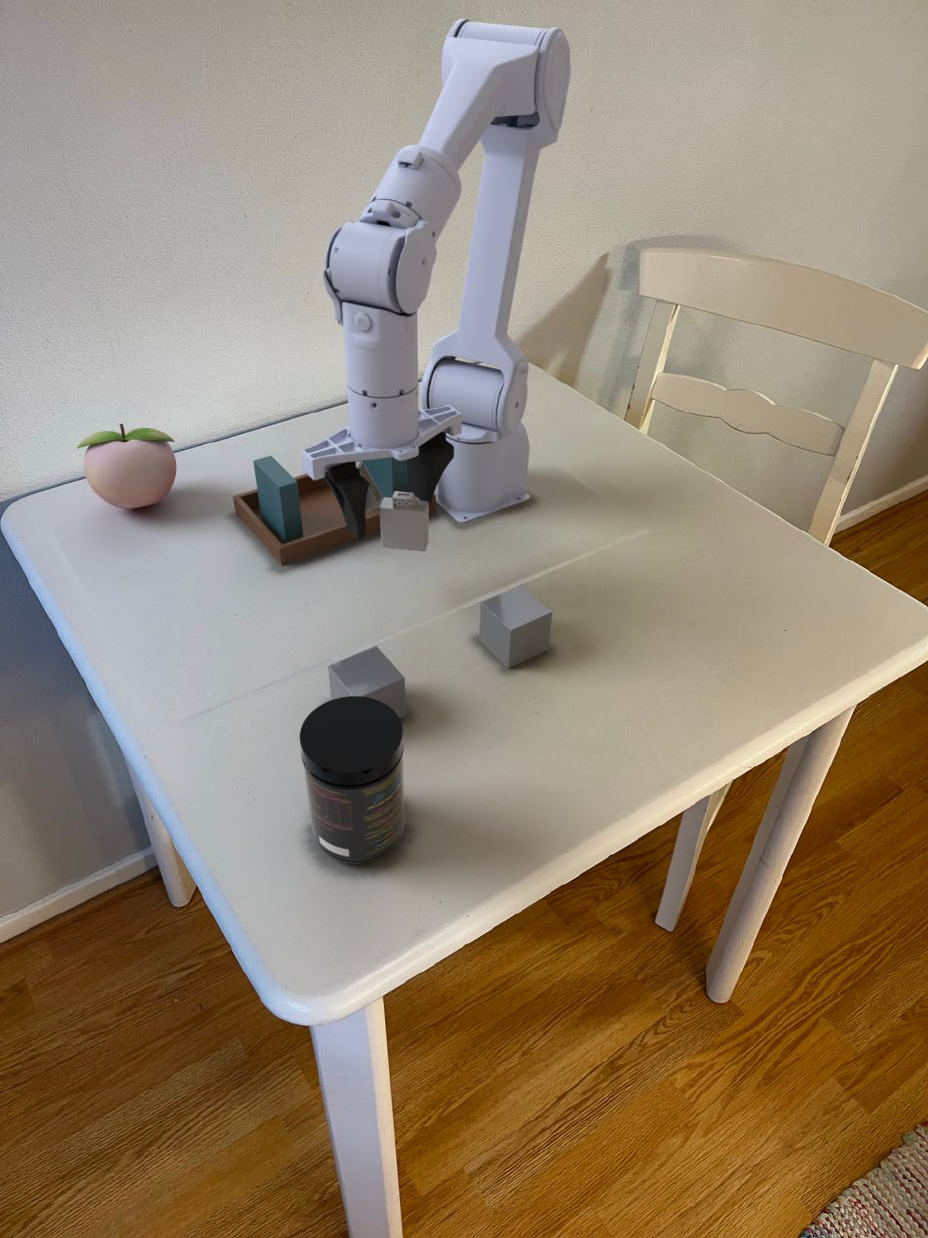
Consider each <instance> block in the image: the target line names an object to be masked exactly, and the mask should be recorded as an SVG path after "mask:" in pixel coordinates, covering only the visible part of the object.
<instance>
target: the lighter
mask: <svg viewBox="0 0 928 1238" xmlns="http://www.w3.org/2000/svg"><path fill="white" fill-rule="evenodd" d="M356 467H357V468H359V469H360V475H361V476H363V477H364V478H365V479H366V480H367V481H368V482H369V483H370V485H369V488H368V492H367V497H366V506H365V510H366V511H368V510H371V509H374V508H377V507H380V525H381V531H380V545H381V546H380V547H381V548H383V549H395V550H405V551H413V552H414V551H415V552H426V551H427V548H428V547H429V541H430V540H429V537H430V535H429V533H430V532H429V530H430V528H429V525H430V524H429V522H430V521H429V517H430V514H429V502H427V501H420V500H419V498H417V497H416V496H415V495H414V493H410V492H399V491H395V492H394V494H393V497H392V498H387V497H385V498H383V495H382V494H381V492H380V490H379V488H378V487H377V485H376V483H375V481H374V480H373V478H372V476H371V474H370V473H369V471H368V469H367V467H366V466H365V464H364V462H363V461H359V462H356Z"/></svg>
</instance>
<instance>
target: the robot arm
mask: <svg viewBox="0 0 928 1238" xmlns="http://www.w3.org/2000/svg"><path fill="white" fill-rule="evenodd" d="M442 47H443V48H442V51H441V52H442V53H441V61H440V63H441V64H440V69H441V70H440V71H441V72H440V73H441V88H442V89H441V91H440V94H439V96H438V98H437V101H436V102H435V105H434V107H433V109H432V112H431V115H430V117H429V119H428V121H427V124H426V126H425V127H424V130H423V133H422V134H421V137H420V139H419V142H418V144H411V145H405V146H404V147H402V148H400V149H399V150H398V151H397V153H395V155H394V157H393V159H392V161H391V163H390V164H389V166H388V167H387V170H386V171H385V173H384V175H383V176H382V178H381V180H380V181H379V183H378V184H377V186H376V189H375V190H374V192H373V194H372V196H371V198H370V199H369V201H368V203H367V204H366V206H365V208H364V210H363V211H362V213H361V214H360V216H359V218H358V220H350V221H347V222H346V223H345V224H344V225H343V226H342V225H341V226H340V227H338V228H336V229H335V231H334V232H333V233H332V235H331V236H330V239H329V240H328V244H327V248H326V252H325V259H324V269H323V270H322V279H323V284H324V288H325V290H326V292H327V294H328V296H329V297H330V298H331V301H332V303H333V308H334V318H335V320H336V321H337V324H338V325H339V326H341V327H342V330H343V345H344V360H345V361H344V362H345V373H346V374H345V377H346V389H347V391H346V392H347V406H348V407H347V408H348V421H349V423H348V425H347V426H345V427H343V428H342V429H340V430H338V431H337V432H335V433H333V434H331V435H329V436H328V437H326V438H325V439H323V440H321V441H320V442H318V443H315V444H313V445H311V446H308V447H306V448H302V449H301V450H300V453H301V462H302V470H303V471H304V472H305V474H308V475H309V476H310V477H311V478H312V479H313V480H318V479H321V478H325V480H326V481H327V483H328V485H329V486H330V488H331V490H332V491H333V493H334V495H335V497H336V499H337V501H338V503H339V505H340V508H341V510H342V513H343V516H344V518H345V522H346V525H347V529H348V531H349V532H350V533H351V534H352V535H353V536H354V537H355V538H356V540H357V541H361V540H364V539H366V538H367V536H366V516H365V506H366V497H367V492H368V488H369V485H370V483H369V482H368V481H367V480H366V479H365V478H364V477H363V476H361V475H360V469H359V468H357V467H356V462H359V461H363V460H372V459H380V458H389V457H394V458H395V459H396V460H398V461H404V460H406V463H407V470H408V492H410V493H414V495H415V496H416V497H417V498H419V500H420V501H427V502H429V508H430V505H431V501H432V498H433V495H434V494H435V495H436V505H438V506H439V507H440V508H441V509H442V510H444V511H445V512H446V513H447V514H449V515H450V516H451V517H452V518H453V519H454V520H456V522H458V523H461V524H465V523H468V522H470V521H473V520H475V519H478V518H481V517H483V516H484V517H485V516H487V515H489V514H492V513H496V512H497V511H500V510H504V509H506V508H509V507H511V506H515V505H517V504H520V503H522V502H526V501H528V500H530V499H531V495H530V494H528V493H527V484H528V471H529V459H530V441H529V435H528V432H527V429H526V427H525V425H524V423H523V422H522V419H523V417H524V414H525V411H526V406H527V402H528V392H529V391H528V389H529V388H528V375H529V370H530V366H529V359H528V358H527V356H526V355H525V354H524V352H522V350H521V349H520V348H519V346H518V345H517V344H516V343H515V342H514V341H513V339H512V338H511V337H510V335H509V334H508V329H509V323H510V318H511V312H512V307H513V301H514V295H515V289H516V283H517V278H518V274H519V273H518V272H519V266H520V261H521V255H522V249H523V244H524V239H525V238H524V237H525V231H526V226H527V221H528V215H529V209H530V203H531V198H532V192H533V186H534V182H535V181H534V180H535V176H536V170H537V166H538V162H539V159H540V153H541V150H543V149H545V148H547V147H549V146H551V145H553V144H556V143H557V141H558V138H559V132H560V129H561V128H562V125H563V120H564V114H565V109H566V103H567V98H568V91H569V86H570V80H571V73H572V65H571V64H572V63H571V49H570V48H571V47H570V44H569V41H568V39H567V37H566V35H565V31H563V29H562V28H561V27H554V26H552V27H550V28H541V27H531V26H520V25H509V24H501V23H499V24H498V23H489V22H478V21H472V20H470V19H467V18H460V19H457V20H456V21H455V22H454V23H453V25H451V28H450V30H449V31H448V33H447V35H446V36H445V40H444V43H443V46H442ZM479 142H480V144H481V146H482V149H483V152H484V155H483V156H484V157H483V164H482V170H481V175H480V181H479V182H480V183H479V189H478V196H477V202H476V207H475V208H476V209H475V215H474V222H473V227H472V234H471V240H470V247H469V254H468V261H467V266H466V273H465V280H464V285H463V291H462V293H463V294H462V299H461V304H460V311H459V318H458V324H457V328H456V329H454V330H453V331H451V332H449V333H447V334H446V335H444V336H443V337H441V338H440V339H438V340H437V341H436V342H434V343H433V344H432V346H431V349H430V354H429V358H428V361H427V362H428V363H427V366H426V368H425V370H424V373H423V375H422V379H421V383H420V390H419V345H418V344H419V340H418V339H419V338H418V336H419V335H418V334H419V331H418V330H419V328H418V310H419V308H420V307H421V306H422V304H423V302H424V301H425V300H426V297H427V296H428V292H429V289H430V285H431V279H432V273H433V268H434V265H435V263H436V261H437V256H438V251H437V248H436V247H437V246H436V245H437V242H438V240H439V238H440V237H441V235H442V233H443V231H444V229H445V227H446V225H447V224H448V221H449V219H450V217H451V216H452V213H453V212H454V210H455V208H456V206H457V204H458V202H459V200H460V198H461V195H462V182H461V178H460V175H459V171H460V169H461V168H462V166H463V165H464V163H465V162H466V160H467V159H468V157H469V156H470V155H471V153H472V152H473V150H474V149H475V147H476V146H477V144H478V143H479ZM457 358H459V359H464V360H469V361H474V362H477V363H473V362H468V361H464V360H459V359H457ZM478 363H482V364H487V365H492V366H494V367H491V366H486V365H482V364H478ZM419 391H420V393H419ZM419 398H420V399H419ZM419 400H420V404H421V407H422V409H419Z"/></svg>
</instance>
